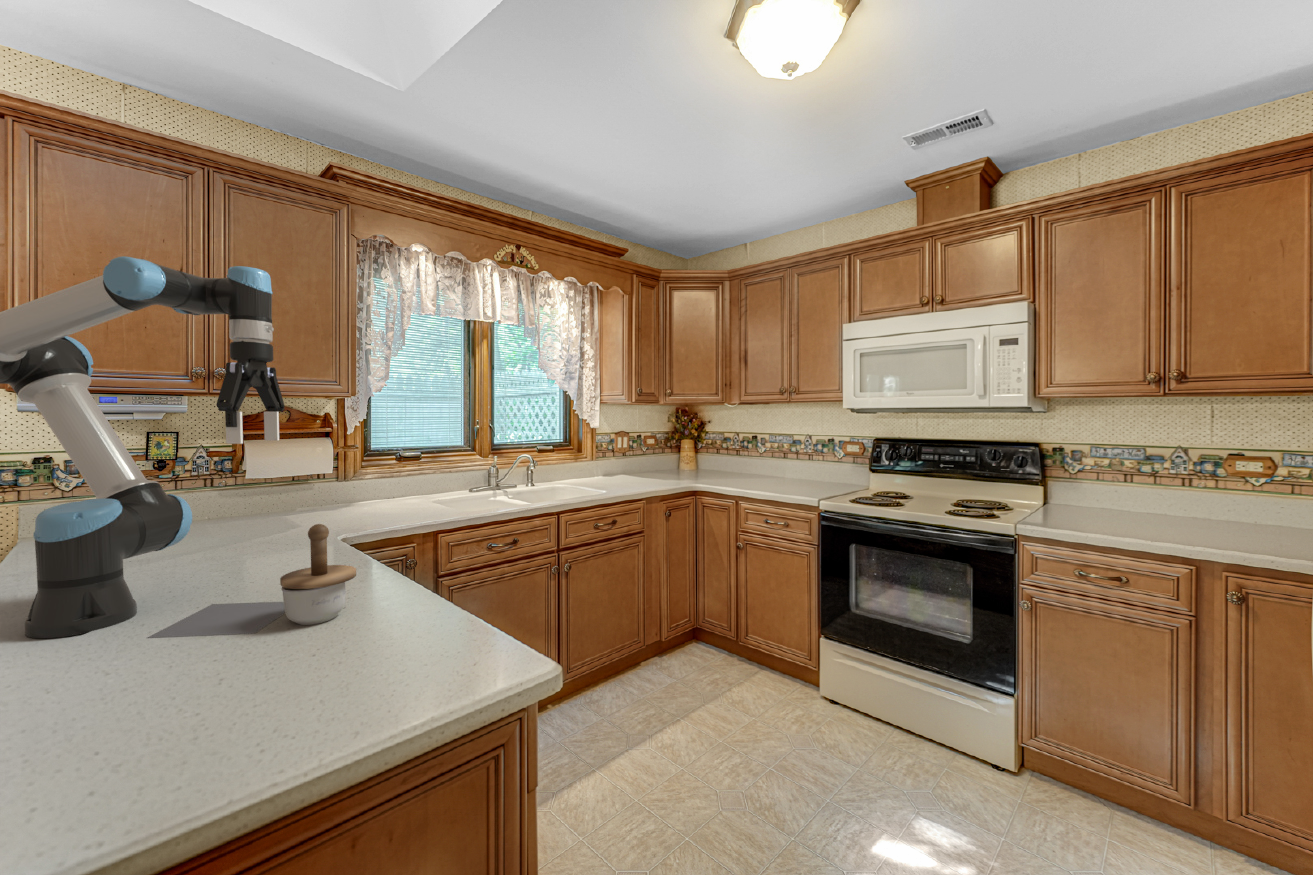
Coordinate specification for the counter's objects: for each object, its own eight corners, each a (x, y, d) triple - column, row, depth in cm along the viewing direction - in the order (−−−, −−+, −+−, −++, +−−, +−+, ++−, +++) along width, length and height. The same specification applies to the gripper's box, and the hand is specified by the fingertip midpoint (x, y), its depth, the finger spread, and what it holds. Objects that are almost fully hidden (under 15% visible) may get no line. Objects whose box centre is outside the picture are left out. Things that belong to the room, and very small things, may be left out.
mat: (146, 640, 101) (146, 637, 101) (212, 605, 119) (212, 603, 119) (254, 635, 103) (254, 633, 103) (303, 602, 121) (303, 600, 121)
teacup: (317, 632, 105) (316, 590, 104) (268, 627, 107) (267, 586, 107) (369, 607, 118) (368, 570, 118) (325, 603, 121) (324, 567, 120)
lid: (266, 590, 104) (264, 531, 104) (299, 570, 117) (298, 518, 117) (341, 587, 106) (340, 530, 106) (365, 568, 119) (365, 517, 119)
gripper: (234, 334, 107) (237, 445, 108) (300, 349, 132) (302, 439, 133) (191, 333, 106) (194, 445, 107) (265, 348, 131) (268, 439, 132)
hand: (254, 442), depth 120 cm, fingers open, 13 cm apart
